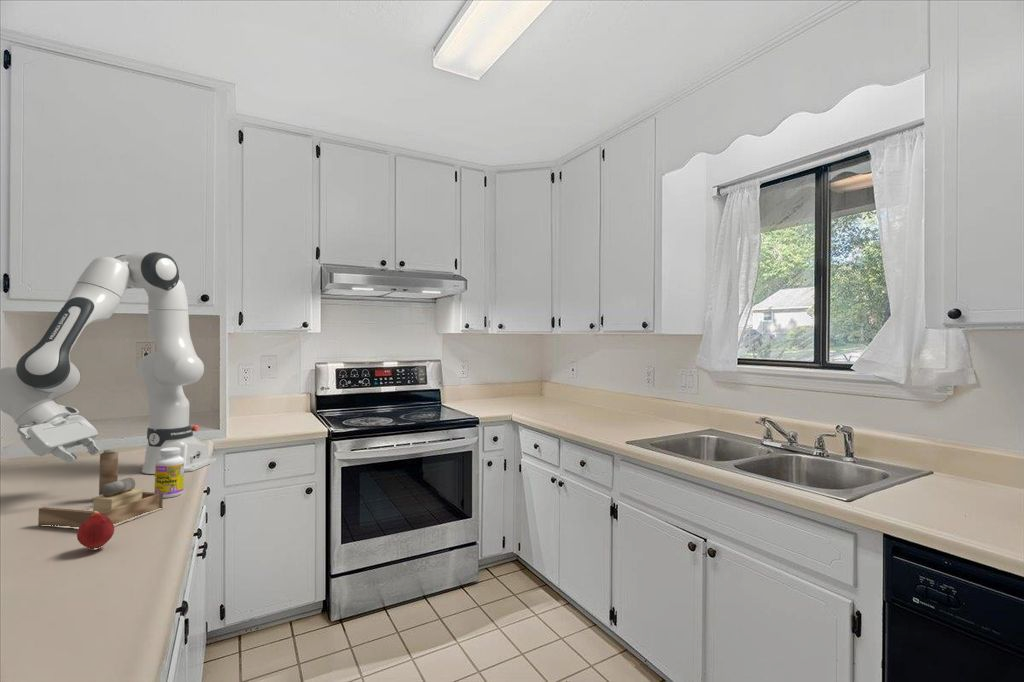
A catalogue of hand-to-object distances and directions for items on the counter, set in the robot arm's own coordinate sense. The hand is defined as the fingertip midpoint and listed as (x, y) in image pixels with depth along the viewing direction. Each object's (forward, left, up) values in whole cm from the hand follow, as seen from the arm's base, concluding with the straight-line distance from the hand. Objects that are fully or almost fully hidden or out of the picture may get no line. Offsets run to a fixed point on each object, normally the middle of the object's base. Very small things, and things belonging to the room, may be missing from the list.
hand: (85, 456), depth 134 cm
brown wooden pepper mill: (-2, +5, -12) cm, 13 cm away
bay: (+10, +17, -12) cm, 22 cm away
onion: (+26, +33, -12) cm, 44 cm away
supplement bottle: (-9, +17, -12) cm, 23 cm away
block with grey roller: (+10, +21, -12) cm, 26 cm away
